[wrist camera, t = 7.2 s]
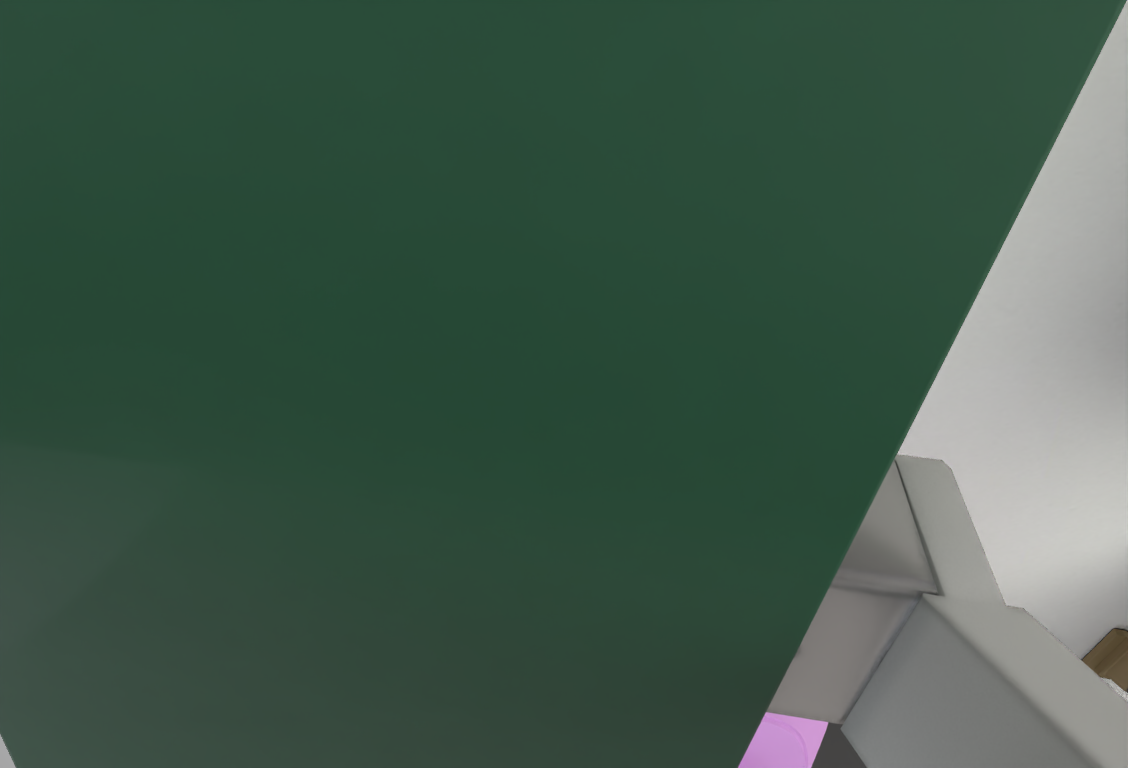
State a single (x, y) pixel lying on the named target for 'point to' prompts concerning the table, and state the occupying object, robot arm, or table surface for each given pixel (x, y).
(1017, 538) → the table surface
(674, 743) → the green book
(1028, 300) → the table surface
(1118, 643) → the eiffel tower
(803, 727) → the teapot
